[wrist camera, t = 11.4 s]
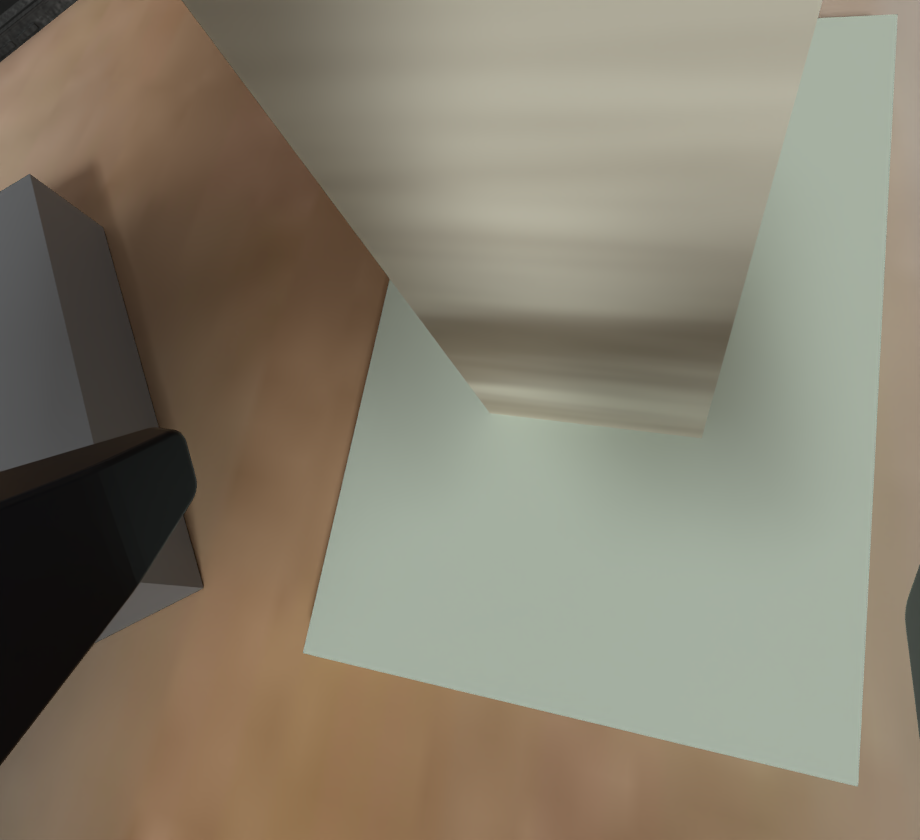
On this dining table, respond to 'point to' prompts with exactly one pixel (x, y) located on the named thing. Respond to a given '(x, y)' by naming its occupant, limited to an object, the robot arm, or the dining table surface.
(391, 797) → the dining table surface
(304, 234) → the dining table surface
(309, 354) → the dining table surface
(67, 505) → the robot arm
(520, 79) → the birch block
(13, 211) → the pocket plate
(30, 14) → the phone
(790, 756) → the sage mat
